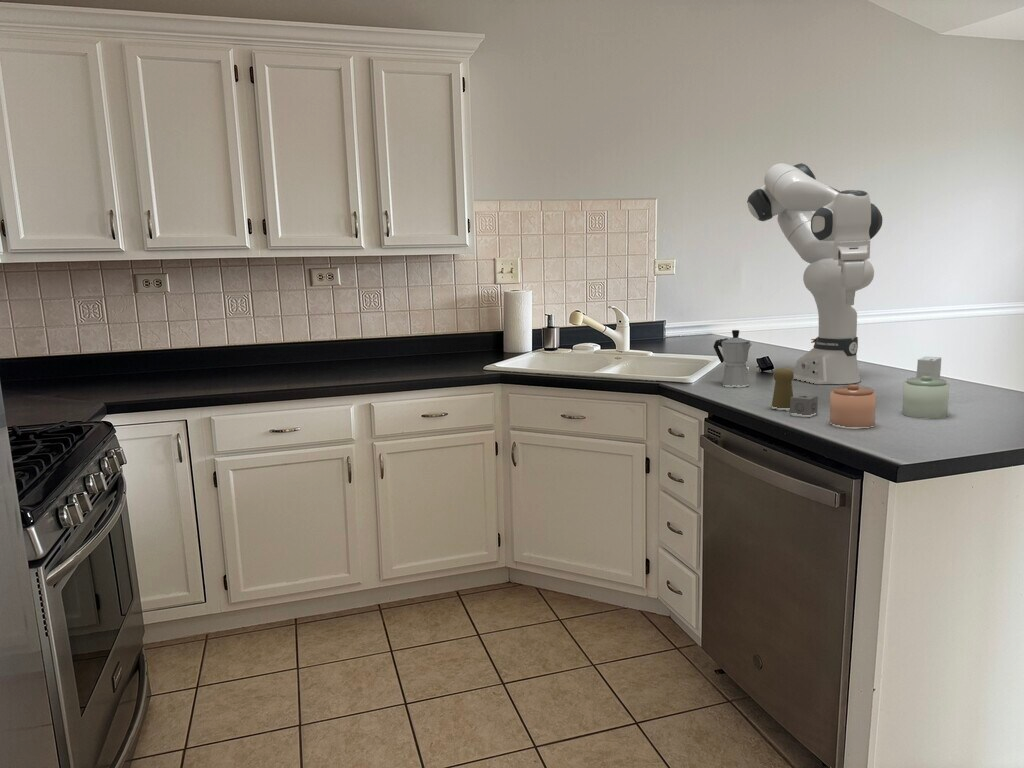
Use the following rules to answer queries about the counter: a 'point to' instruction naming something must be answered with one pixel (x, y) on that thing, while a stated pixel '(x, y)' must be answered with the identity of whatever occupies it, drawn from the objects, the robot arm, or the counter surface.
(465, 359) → the counter surface
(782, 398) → the cork
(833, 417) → the terracotta canister
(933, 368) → the skincare box
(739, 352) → the coffee maker
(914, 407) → the sage canister
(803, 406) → the dice cube
